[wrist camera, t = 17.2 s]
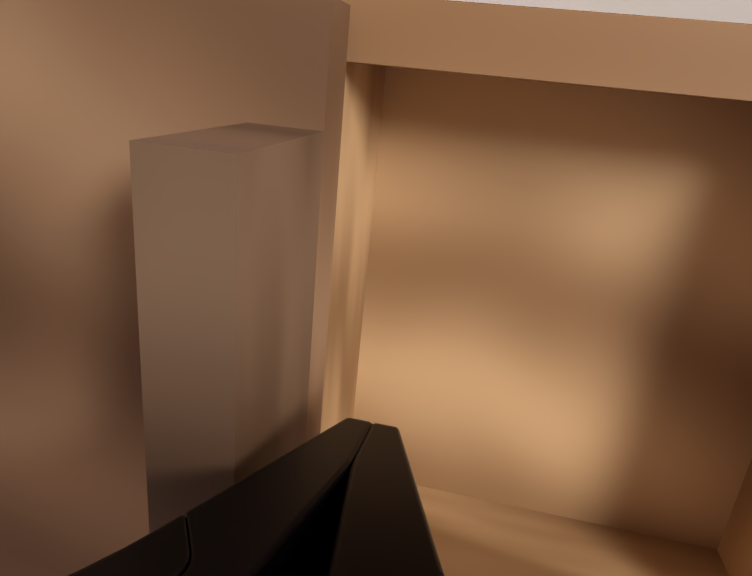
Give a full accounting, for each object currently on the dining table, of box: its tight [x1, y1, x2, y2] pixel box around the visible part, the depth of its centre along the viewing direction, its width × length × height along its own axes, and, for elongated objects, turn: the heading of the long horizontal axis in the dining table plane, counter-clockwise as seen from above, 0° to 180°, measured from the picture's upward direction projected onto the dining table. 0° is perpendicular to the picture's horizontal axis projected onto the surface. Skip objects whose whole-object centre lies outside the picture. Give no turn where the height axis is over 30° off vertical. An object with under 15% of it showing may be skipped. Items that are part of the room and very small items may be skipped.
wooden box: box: [320, 0, 752, 576], centre depth 13 cm, size 13×12×5 cm
